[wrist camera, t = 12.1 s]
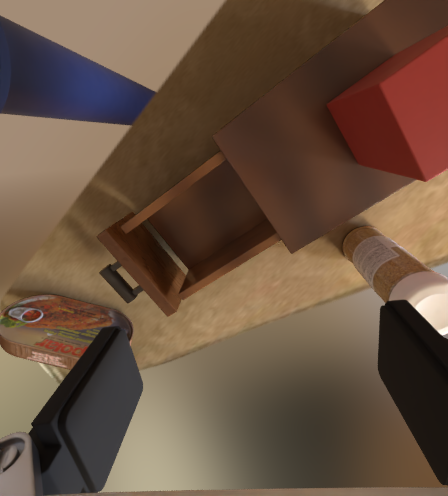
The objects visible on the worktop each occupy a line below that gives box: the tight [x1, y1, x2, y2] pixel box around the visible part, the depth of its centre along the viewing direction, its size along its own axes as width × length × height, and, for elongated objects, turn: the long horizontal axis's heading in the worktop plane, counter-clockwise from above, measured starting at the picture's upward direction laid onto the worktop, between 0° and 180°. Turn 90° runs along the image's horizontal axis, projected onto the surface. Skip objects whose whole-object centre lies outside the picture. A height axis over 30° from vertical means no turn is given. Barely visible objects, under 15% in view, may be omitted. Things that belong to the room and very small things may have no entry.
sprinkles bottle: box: [343, 226, 448, 335], centre depth 26 cm, size 5×5×14 cm
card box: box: [327, 26, 448, 182], centre depth 16 cm, size 5×5×8 cm
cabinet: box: [212, 0, 448, 254], centre depth 24 cm, size 16×11×8 cm
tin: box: [0, 295, 134, 370], centre depth 34 cm, size 15×3×8 cm, turn 75°
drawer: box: [97, 151, 282, 317], centre depth 29 cm, size 20×10×7 cm, turn 126°
